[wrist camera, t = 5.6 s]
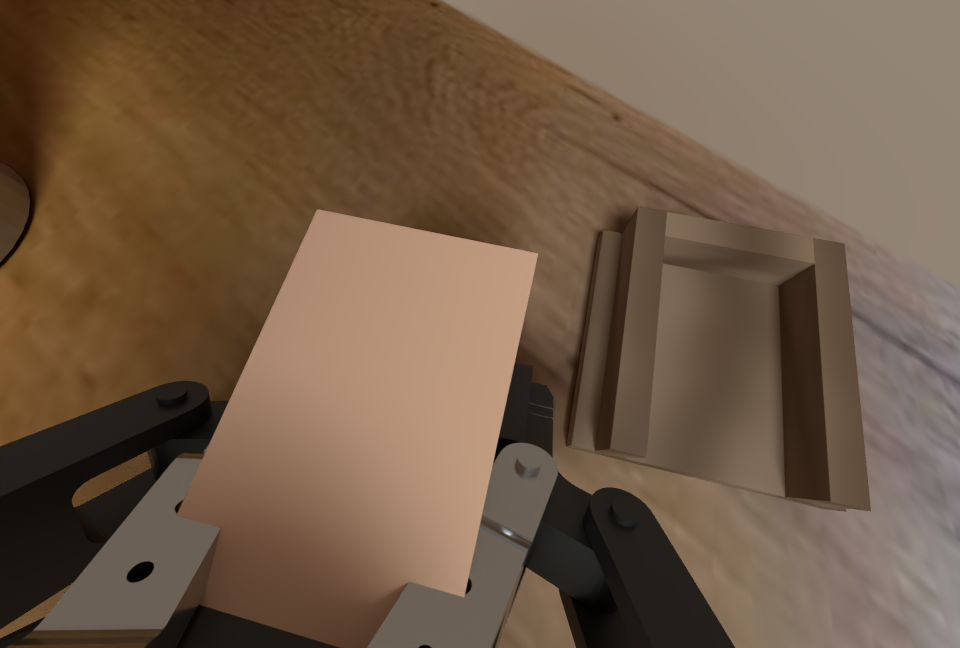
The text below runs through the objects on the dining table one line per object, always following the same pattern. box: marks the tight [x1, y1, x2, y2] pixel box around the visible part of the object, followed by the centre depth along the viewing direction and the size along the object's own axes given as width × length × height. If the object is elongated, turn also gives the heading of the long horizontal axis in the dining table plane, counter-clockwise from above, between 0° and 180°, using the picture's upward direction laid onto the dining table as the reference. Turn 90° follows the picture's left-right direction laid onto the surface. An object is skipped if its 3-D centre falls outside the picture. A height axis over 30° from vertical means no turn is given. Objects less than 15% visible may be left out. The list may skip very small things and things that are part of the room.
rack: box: [566, 207, 871, 511], centre depth 16 cm, size 10×10×3 cm
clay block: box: [177, 209, 538, 648], centre depth 11 cm, size 4×6×11 cm, turn 166°
